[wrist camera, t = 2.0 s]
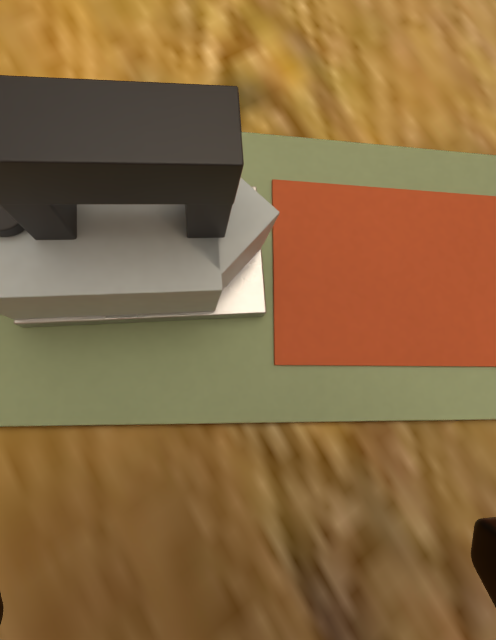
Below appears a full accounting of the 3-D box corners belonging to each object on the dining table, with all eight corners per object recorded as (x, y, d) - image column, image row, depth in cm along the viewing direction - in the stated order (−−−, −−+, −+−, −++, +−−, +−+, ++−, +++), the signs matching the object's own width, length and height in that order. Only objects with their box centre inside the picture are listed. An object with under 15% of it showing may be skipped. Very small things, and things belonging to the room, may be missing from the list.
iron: (22, 328, 18) (-178, 254, 8) (25, 194, 19) (-151, -15, 9) (263, 316, 20) (338, 245, 10) (253, 195, 21) (313, 19, 11)
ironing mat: (495, 160, 24) (504, 153, 23) (525, 418, 21) (536, 419, 21) (-12, 114, 20) (-20, 104, 19) (-50, 426, 17) (-59, 427, 17)
